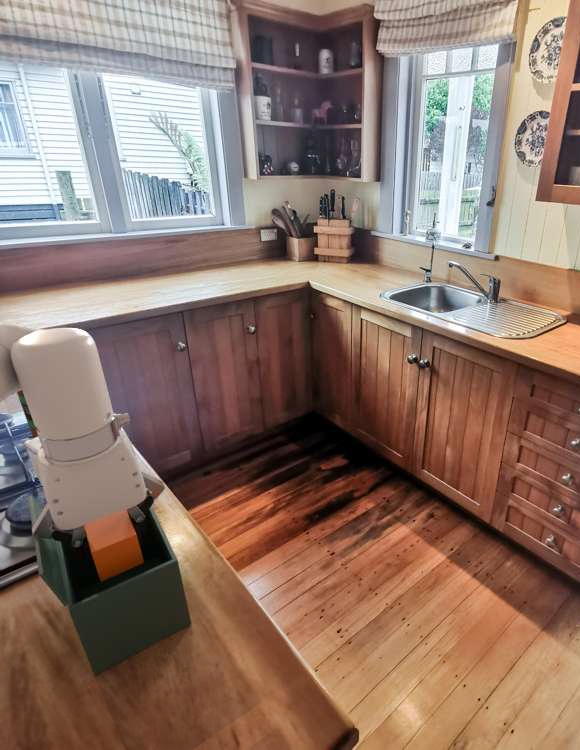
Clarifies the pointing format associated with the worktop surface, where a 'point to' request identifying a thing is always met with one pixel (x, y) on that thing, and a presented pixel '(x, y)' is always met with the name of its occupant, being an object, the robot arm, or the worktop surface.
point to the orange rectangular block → (113, 545)
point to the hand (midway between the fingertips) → (115, 548)
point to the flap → (48, 558)
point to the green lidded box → (125, 600)
